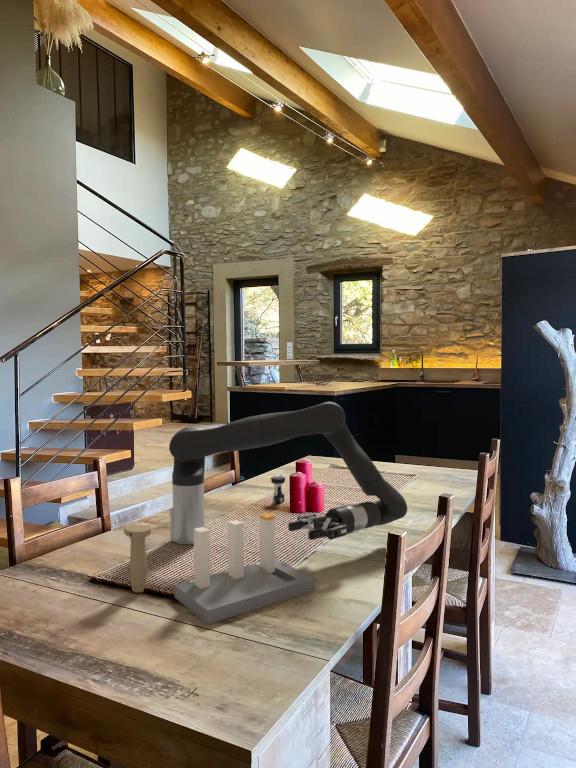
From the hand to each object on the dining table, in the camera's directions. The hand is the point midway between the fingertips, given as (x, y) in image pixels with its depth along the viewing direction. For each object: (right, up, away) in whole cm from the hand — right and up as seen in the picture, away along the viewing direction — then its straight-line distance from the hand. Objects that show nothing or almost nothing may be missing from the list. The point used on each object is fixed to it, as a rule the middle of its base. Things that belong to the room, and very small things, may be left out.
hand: (298, 531), depth 149 cm
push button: (-7, -6, +64) cm, 65 cm away
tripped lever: (-8, -9, -5) cm, 13 cm away
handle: (-38, -11, -11) cm, 41 cm away
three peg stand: (-13, -11, -14) cm, 22 cm away
